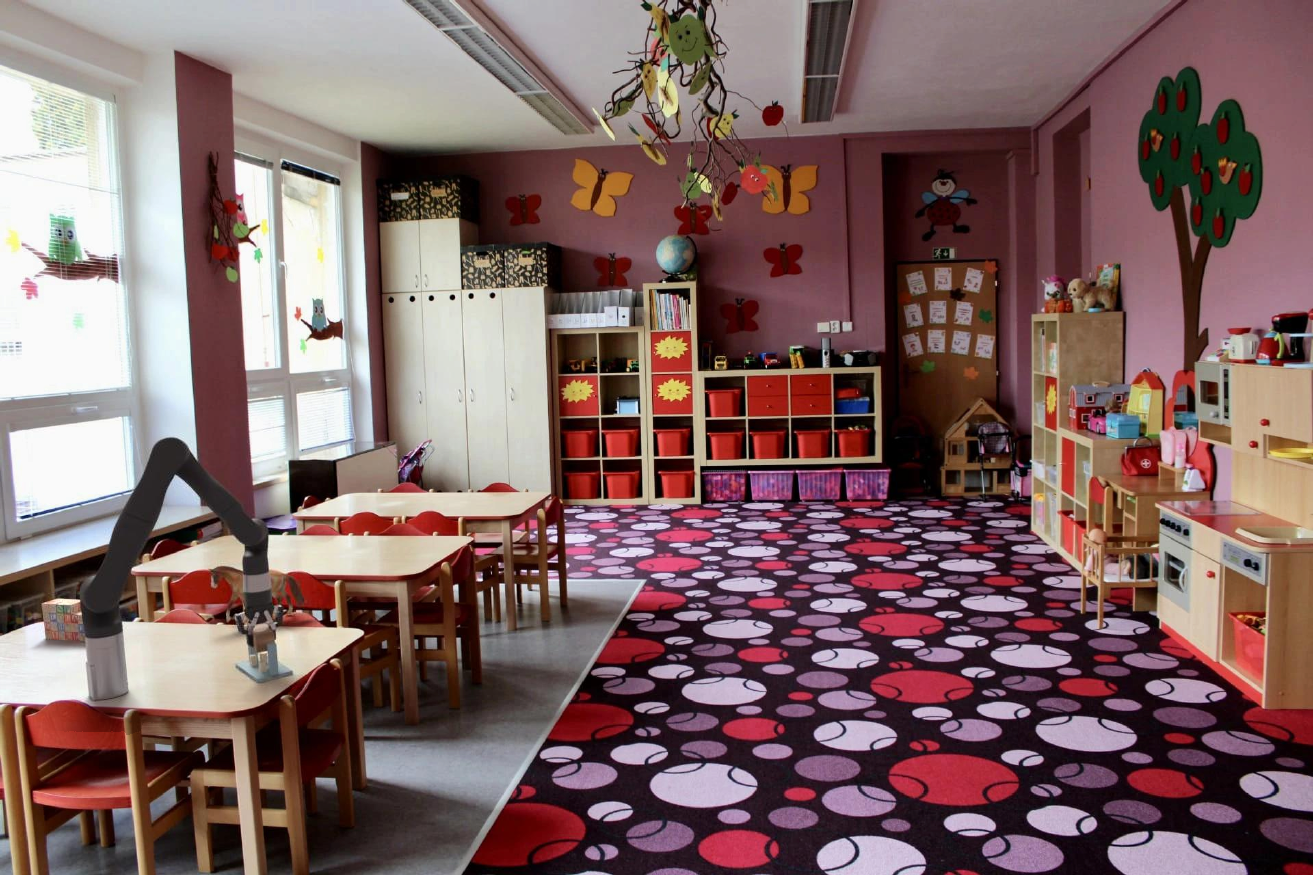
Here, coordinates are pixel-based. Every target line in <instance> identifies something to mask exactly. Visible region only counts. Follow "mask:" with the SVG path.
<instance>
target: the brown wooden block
mask: <svg viewBox="0 0 1313 875" xmlns="http://www.w3.org/2000/svg"><path fill="white" fill-rule="evenodd" d="M252 635H253V643H254V647H253V648H254V650H255V651H256V652H257V653H258V654H260V653H261V652H267V644H268V643H272V642H274V643H276V640H275V637H274V632H273V631H272V630H271V629H270V627H269V626H268V624H267V623H266V622H263V623H262V622H261V623H256V625H255V627H254V629H253V632H252Z"/></svg>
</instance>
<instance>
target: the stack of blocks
mask: <svg viewBox="0 0 1313 875" xmlns="http://www.w3.org/2000/svg"><path fill="white" fill-rule="evenodd" d="M41 609H42V611H41V612H42V619H43V624H44V635H45V639H49V640H56V641H57V640H59V641H71V642H73V641H74V642H84V643H85V633H84V627H83V622H82V614H81V605H80V599H73V598H72V599H71V598H70V599H68V598H67V599H66V598H55V599H53V600H50V601H49V600H48V601H46V602H42V603H41Z"/></svg>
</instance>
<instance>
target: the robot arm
mask: <svg viewBox="0 0 1313 875" xmlns="http://www.w3.org/2000/svg"><path fill="white" fill-rule="evenodd" d="M175 476H177V477H178V478H180V480H182V481H183V482H184V483H185V484H187V485H188V487H189V488H191V490H192V491H193V492H195V494H196V495H197V497H199V498H200V500H201V501H202V502H203V503H204V504H205V505H206V506H207V508H208V509H210V511H211V512H213V514H214V515H215V516H217V517H218V518H219V519H220V520H221V521H222V522H224V524H225V525H226V528H228V531H230V532H231V534H232V535H233V537H234V538H235V539H236V541H238V542H239V543H241V545H244V546H243V547H244V553H243V556H242V559H241V560H242V561H241V563H242V564H241V565H242V571H243V590H244V603H245V607H244V610H243V611H242V612H240V613H235V614H233V618H234V621H235V624H236V628H237V630H238V633H239V634H241V635H242V636H243V635H245V638H246V644H247V646H248V645H249V646H250V647H254V643H253V635H252V632H253V629H254V627H255V625H257V624H260V623H262V622H263V623H266V624H267V625H268V626H269V627H270V629H271V630H272V631H273V632H274V637H275V641H276V640H277V631H276V630H277V628H278V627H282V625H283V619H284V612H285V607H284V606H283V605H281V604H280V605H278V606H276V605H274V604H273V596H272V591H271V579H270V574H269V570H270V566H269V565H270V564H269V558H268V557H269V556H268V554H269V537H270V536H269V528H268V525H267V524H266V521H264V520H262V519H260V518H251V517H250V516H249V515H248V513H246V511H245V506H244V505H243V503H241V501H239V499H237V497H236V496H235V495H234V494H232V493H231V492H230V490H228V489H227V488H226V487H225V486H224V485H222V484H221V483H220V482H219V481H218V480H217V479H216V478H214V477H213V476H212V475H211V474H210V473H209V472H208V471H207V470H206V469H205V468H204V466H202V464H200V462H199V461H198V459H197V458H196V457H195V455H194V453H193V452H192V451H191V450H190V448H189V446H188V444H187V443H186V442H185V441H183V440H182V439H180V438H178V437H175V436H165V437H163V438H160V439H159V440H157V441H156V442H155V443H154V445H153V446H152V449H151V452H150V454H149V458H148V460H147V463H146V466H145V468H144V471H143V474H142V476H141V478H140V480H139V481H138V483H137V485H136V486H135V488H134V489H133V491H132V493H131V495H130V496H129V498H128V500H127V501H126V503H125V505H124V507H123V508H122V510H121V512H120V514H119V516H118V518H117V520H116V522H115V524H114V526H113V529H112V532H111V535H110V540H109V543H108V546H107V550H106V555H105V557H104V559H103V562H102V564H101V565H100V567H99V569H98V570H97V572H96V574H95V575H91V576H90V577H88V578H86V579H85V580H84V581H83V583H82V584H81V586H80V589H79V600H80V605H81V614H82V622H83V627H84V633H85V642H84V643H85V652H86V653H85V654H86V660H87V661H86V662H85V669H86V678H87V680H86V681H87V689H88V696H89V697H90V698H91V700H92V701H97V700H99V701H100V700H107V699H113V698H117V697H120V696H123V695H124V694H126V693H128V691H129V682H128V671H127V670H128V669H127V661H126V660H127V659H126V658H127V657H126V650H125V649H126V648H125V636H124V629H123V628H124V627H123V621H122V616H121V612H120V600H121V599H122V595H123V593H124V590H125V588H126V584H127V581H128V579H129V576H130V573H131V571H132V568H133V567H134V566H135V563H136V562H137V561H138V558H139V556H140V555H141V553H142V551H143V549H144V547H145V546H146V544H147V542H148V541H149V538H150V536H151V535H152V533H153V530H154V529H155V526H156V524H157V523H158V520H159V517H160V515H161V511H162V509H163V506H164V501H165V498H166V494H167V491H168V489H169V487H170V484H171V483H172V482H173V480H174V477H175ZM274 610H275V612H276V618H275V619H273V617H271V616H272V615H273V611H274ZM246 617H247V618H248V622H247V623H246V628H245V626H244V623H243V620H244V619H245V618H246ZM274 621H275V622H274Z"/></svg>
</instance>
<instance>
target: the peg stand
mask: <svg viewBox="0 0 1313 875" xmlns="http://www.w3.org/2000/svg"><path fill="white" fill-rule="evenodd" d="M247 647H248V649H247V650H248V652H247V653H248V660H245V661H241V662H237V663H235V665H234V666H235V668H236V669H238V670H239V671H240V672H242V673H244V675H246V676H247V677H249V679H252V680H253V681H254V682H256V683H263V682H266V681H270V680H275V679H278V678H283V677H287V676H290V675H293V674H294V672H293V670H292V669H291V668H289V667H287V666H286V665H285V664H284V663H281V662H280V661H278V648H277V642H275V643H274V642H272V643H268V644H267V651H265V652H260V653H257V652H256V651H255V650H254V648H253V647H250V646H249V645H247ZM258 654H259V655H258Z"/></svg>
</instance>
